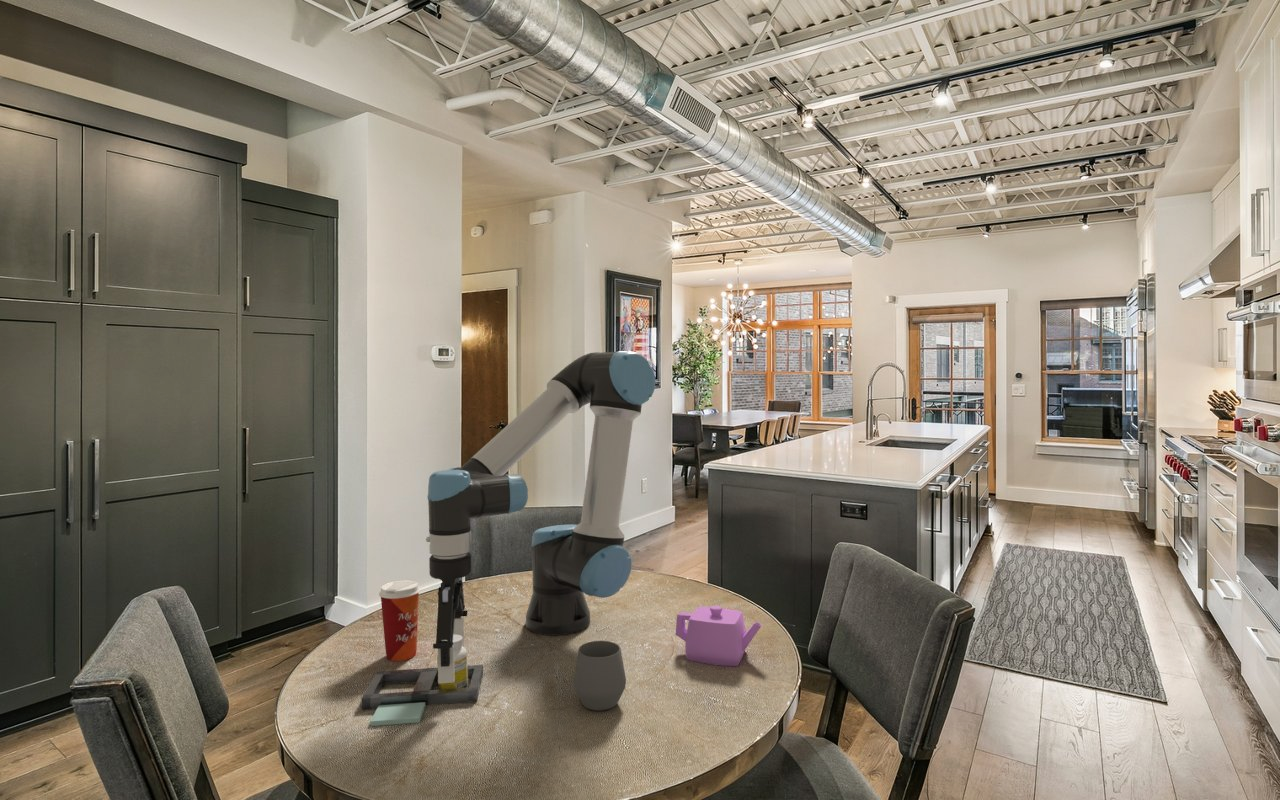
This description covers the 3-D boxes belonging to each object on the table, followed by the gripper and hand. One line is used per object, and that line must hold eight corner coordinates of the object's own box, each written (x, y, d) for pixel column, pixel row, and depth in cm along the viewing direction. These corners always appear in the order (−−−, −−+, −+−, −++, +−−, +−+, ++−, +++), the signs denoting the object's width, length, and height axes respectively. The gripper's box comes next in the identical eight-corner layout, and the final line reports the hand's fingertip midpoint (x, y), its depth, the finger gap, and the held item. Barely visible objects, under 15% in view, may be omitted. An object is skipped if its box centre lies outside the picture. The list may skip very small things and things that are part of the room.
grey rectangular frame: (483, 674, 134) (482, 664, 133) (477, 701, 123) (476, 690, 123) (377, 681, 131) (377, 671, 131) (361, 709, 120) (361, 698, 120)
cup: (577, 691, 126) (576, 638, 126) (627, 691, 126) (626, 638, 126) (570, 716, 117) (569, 660, 117) (624, 717, 117) (624, 660, 116)
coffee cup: (408, 665, 138) (407, 592, 138) (372, 662, 140) (370, 590, 139) (429, 648, 146) (427, 580, 146) (395, 645, 148) (393, 578, 147)
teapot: (765, 651, 144) (765, 603, 143) (756, 672, 134) (756, 621, 133) (683, 640, 150) (683, 595, 149) (669, 660, 140) (669, 611, 139)
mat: (425, 706, 121) (425, 702, 121) (419, 722, 116) (419, 717, 116) (378, 709, 120) (378, 705, 120) (370, 726, 114) (370, 721, 114)
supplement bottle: (441, 683, 130) (440, 633, 130) (470, 682, 130) (469, 632, 130) (435, 697, 125) (434, 644, 124) (465, 695, 125) (464, 643, 125)
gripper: (440, 538, 138) (441, 640, 139) (416, 574, 113) (418, 698, 114) (477, 537, 139) (479, 638, 140) (462, 572, 114) (464, 695, 115)
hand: (451, 666), depth 127 cm, fingers open, 13 cm apart
